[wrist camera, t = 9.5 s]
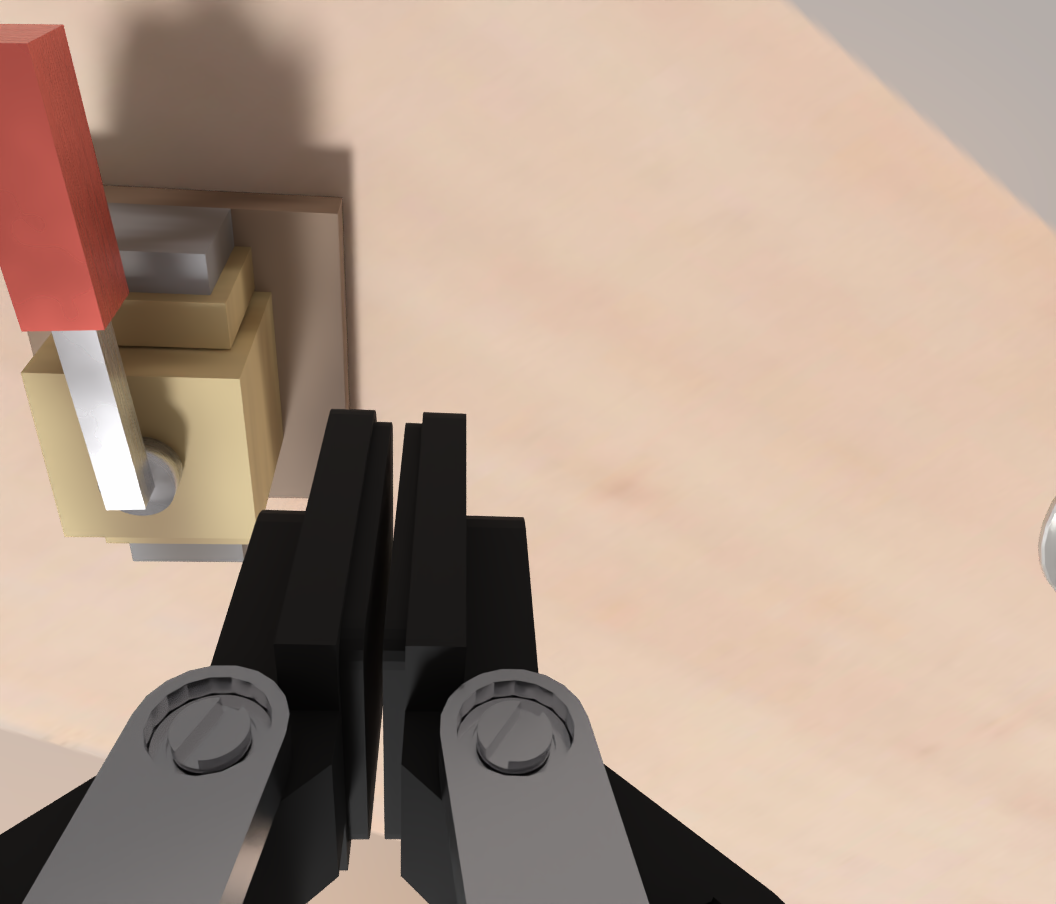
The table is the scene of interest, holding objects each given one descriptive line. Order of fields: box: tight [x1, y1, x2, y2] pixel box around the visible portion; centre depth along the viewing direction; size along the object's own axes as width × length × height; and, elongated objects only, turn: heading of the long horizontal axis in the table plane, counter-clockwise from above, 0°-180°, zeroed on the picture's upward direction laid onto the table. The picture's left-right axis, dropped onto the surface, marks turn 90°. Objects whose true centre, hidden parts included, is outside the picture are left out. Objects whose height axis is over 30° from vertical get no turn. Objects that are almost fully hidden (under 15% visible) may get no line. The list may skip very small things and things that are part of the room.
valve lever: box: [0, 24, 183, 516], centre depth 22 cm, size 12×2×2 cm, turn 179°
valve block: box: [21, 185, 350, 562], centre depth 29 cm, size 10×11×7 cm
